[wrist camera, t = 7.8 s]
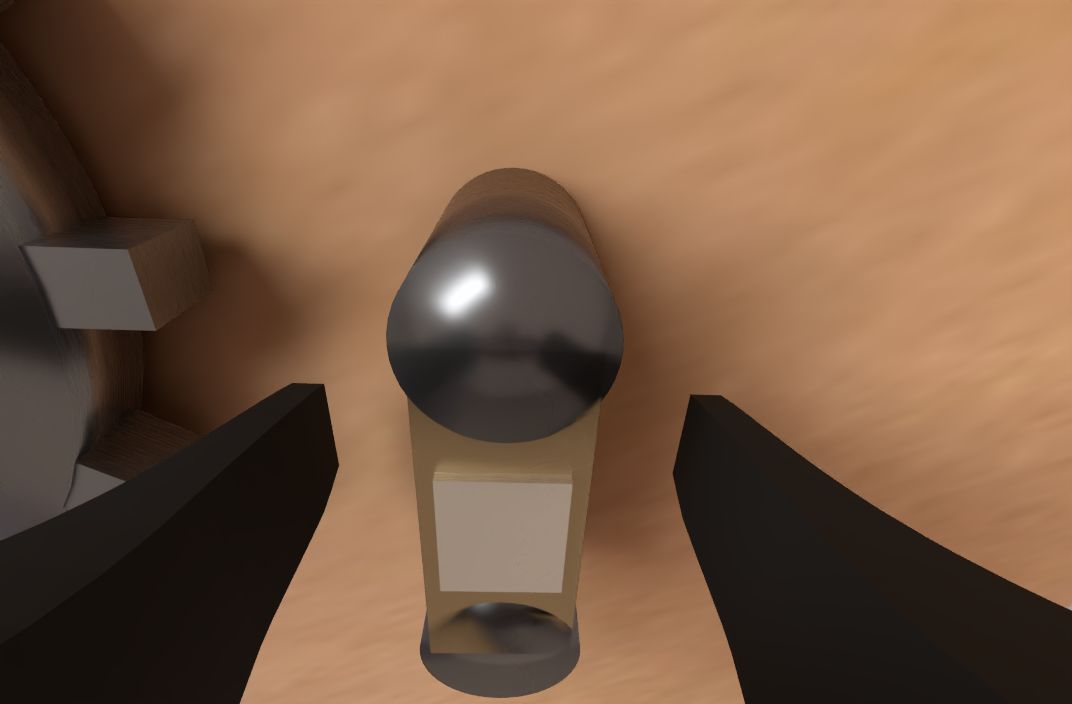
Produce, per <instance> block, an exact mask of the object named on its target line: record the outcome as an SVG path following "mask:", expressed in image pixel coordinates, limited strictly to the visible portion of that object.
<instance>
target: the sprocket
mask: <svg viewBox="0 0 1072 704" xmlns="http://www.w3.org/2000/svg"><path fill="white" fill-rule="evenodd" d="M14 1H16V0H0V13H1V12H2V11H4V10H5V9H6V8H7V7H8V6H10V5H11V4H12V3H13V2H14ZM212 291H214V290H213V286H212V283H211V279H210V276H209V272H208V268H207V265H206V261H205V258H204V254H203V251H202V247H201V243H200V240H199V236H198V233H197V229H196V225H195V222H194V220H182V219H154V218H127V217H107V215H106V213H105V210H104V208H103V206H102V203H101V201H100V199H99V196H98V194H97V192H96V190H95V188H94V186H93V185H92V183H91V181H90V179H89V177H88V176H87V174H86V172H85V170H84V168H83V167H82V165H81V163H80V161H79V159H78V158H77V156H76V154H75V152H74V150H73V148H72V147H71V145H70V143H69V141H68V139H67V138H66V136H65V134H64V132H63V130H62V129H61V127H60V125H59V124H58V122H57V121H56V120H55V118H54V117H53V115H52V114H51V112H50V111H49V109H48V108H47V106H46V105H45V103H44V102H43V101H42V99H41V98H40V96H39V95H38V93H37V92H36V90H35V89H34V87H33V86H32V84H31V83H30V82H29V80H28V79H27V77H26V76H25V74H24V73H23V71H22V70H21V68H20V67H19V65H18V64H17V62H16V61H15V60H14V58H13V57H12V55H11V54H10V53H9V51H8V50H7V49H6V48H5V47H4V45H3V44H2V43H1V42H0V541H1V540H3V539H6V538H8V537H10V536H13V535H15V534H17V533H20V532H22V531H24V530H27V529H29V528H31V527H33V526H36V525H38V524H40V523H43V522H45V521H47V520H49V519H51V518H54V517H56V516H58V515H60V514H62V513H64V512H66V511H68V510H70V509H72V508H74V507H76V506H79V505H81V504H83V503H85V502H87V501H89V500H91V499H93V498H95V497H97V496H99V495H101V494H103V493H105V492H107V491H109V490H111V489H113V488H115V487H117V486H118V485H120V484H122V483H124V482H126V481H128V480H130V479H132V478H133V477H135V476H137V475H139V474H141V473H142V472H144V471H146V470H148V469H149V468H151V467H153V466H155V465H156V464H158V463H160V462H162V461H163V460H165V459H167V458H169V457H170V456H172V455H174V454H175V453H177V452H179V451H181V450H182V449H184V448H186V447H188V446H189V445H191V444H193V443H195V442H196V441H198V440H200V439H201V438H203V437H204V436H202V435H200V434H197V433H195V432H192V431H190V430H187V429H185V428H182V427H180V426H178V425H175V424H173V423H170V422H168V421H165V420H163V419H161V418H158V417H156V416H153V415H151V414H148V413H146V412H144V411H141V410H139V408H140V403H141V399H142V394H143V365H144V349H143V342H142V335H141V330H145V331H157V330H158V329H159V328H161V327H162V326H164V325H165V324H167V323H168V322H169V321H171V320H172V319H174V318H175V317H177V316H178V315H179V314H181V313H182V312H184V311H185V310H187V309H188V308H189V307H191V306H192V305H194V304H195V303H197V302H198V301H199V300H201V299H202V298H204V297H205V296H207V295H208V294H209V293H211V292H212Z"/></svg>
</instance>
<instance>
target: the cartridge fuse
mask: <svg viewBox="0 0 1072 704" xmlns="http://www.w3.org/2000/svg"><path fill="white" fill-rule="evenodd" d="M386 338H387V350H388V356H389V361H390V364H391V367H392V370H393V373H394V375H395V377H396V379H397V381H398V383H399V385H400V386H401V388H402V389H403V391H404V392H405V394H406V395H407V399H408V410H409V421H410V431H411V442H412V453H413V464H414V475H415V486H416V497H417V508H418V519H419V530H420V541H421V552H422V563H423V573H424V584H425V595H426V606H427V611H426V617H425V622H424V628H423V633H422V639H421V644H420V655H421V659H422V662H423V664H424V666H425V667H426V669H427V670H428V671H429V672H430V673H431V674H432V676H434V677H435V678H436V679H437V680H439V681H440V682H442V683H443V684H445V685H447V686H449V687H451V688H453V689H455V690H458V691H461V692H464V693H468V694H471V695H476V696H483V697H493V698H508V697H518V696H524V695H529V694H533V693H537V692H540V691H542V690H545V689H547V688H550V687H552V686H554V685H555V684H557V683H559V682H560V681H562V680H563V679H564V678H566V677H567V676H568V675H569V674H570V673H571V672H572V670H573V669H574V668H575V666H576V664H577V662H578V659H579V655H580V643H579V632H578V622H577V611H576V597H577V589H578V581H579V573H580V565H581V557H582V549H583V541H584V533H585V525H586V517H587V509H588V501H589V494H590V486H591V478H592V470H593V462H594V454H595V446H596V438H597V430H598V422H599V414H600V406H601V401H602V400H603V398H604V397H605V395H606V394H607V393H608V391H609V390H610V388H611V386H612V384H613V382H614V380H615V378H616V376H617V373H618V370H619V368H620V364H621V359H622V354H623V342H624V338H623V326H622V322H621V318H620V313H619V310H618V308H617V305H616V303H615V300H614V297H613V295H612V292H611V290H610V287H609V285H608V282H607V279H606V277H605V274H604V272H603V269H602V266H601V264H600V261H599V259H598V256H597V254H596V251H595V248H594V246H593V243H592V241H591V238H590V236H589V233H588V230H587V228H586V225H585V223H584V220H583V218H582V215H581V212H580V210H579V208H578V207H577V205H576V203H575V201H574V200H573V199H572V197H571V196H570V195H569V194H568V193H567V191H566V190H565V189H564V188H563V187H561V186H560V185H559V184H558V183H556V182H555V181H554V180H552V179H550V178H548V177H547V176H545V175H542V174H540V173H537V172H535V171H531V170H527V169H520V168H503V169H497V170H493V171H489V172H486V173H484V174H482V175H479V176H477V177H475V178H474V179H472V180H471V181H469V182H468V183H466V184H465V185H464V186H463V187H462V188H461V189H460V190H459V191H458V192H457V193H456V194H455V195H454V197H453V198H452V200H451V201H450V203H449V204H448V206H447V208H446V209H445V211H444V213H443V215H442V216H441V218H440V220H439V221H438V223H437V225H436V227H435V228H434V230H433V232H432V233H431V235H430V237H429V239H428V240H427V242H426V244H425V246H424V247H423V249H422V251H421V252H420V254H419V256H418V258H417V259H416V261H415V263H414V264H413V266H412V268H411V270H410V271H409V273H408V275H407V277H406V278H405V280H404V282H403V283H402V285H401V287H400V289H399V290H398V292H397V294H396V297H395V299H394V301H393V303H392V306H391V309H390V313H389V317H388V323H387V331H386Z"/></svg>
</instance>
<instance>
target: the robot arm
mask: <svg viewBox="0 0 1072 704" xmlns="http://www.w3.org/2000/svg"><path fill="white" fill-rule="evenodd" d="M338 467H339V463H338V457H337V452H336V447H335V441H334V436H333V430H332V425H331V419H330V414H329V408H328V403H327V397H326V392H325V386H324V384H306V383H292V384H290V385H288V386H286V387H284V388H282V389H280V390H279V391H277V392H275V393H274V394H272V395H270V396H269V397H267V398H265V399H264V400H262V401H260V402H259V403H257V404H256V405H254V406H252V407H251V408H249V409H248V410H246V411H245V412H243V413H241V414H240V415H238V416H237V417H235V418H233V419H232V420H230V421H229V422H227V423H225V424H224V425H222V426H220V427H219V428H217V429H216V430H214V431H212V432H211V433H209V434H208V435H206V436H204V437H203V438H201V439H200V440H198V441H196V442H195V443H193V444H191V445H189V446H188V447H186V448H184V449H182V450H181V451H179V452H177V453H175V454H174V455H172V456H170V457H169V458H167V459H165V460H163V461H162V462H160V463H158V464H156V465H155V466H153V467H151V468H149V469H148V470H146V471H144V472H142V473H141V474H139V475H137V476H135V477H133V478H132V479H130V480H128V481H126V482H124V483H122V484H120V485H118V486H117V487H115V488H113V489H111V490H109V491H107V492H105V493H103V494H101V495H99V496H97V497H95V498H93V499H91V500H89V501H87V502H85V503H83V504H81V505H79V506H76V507H74V508H72V509H70V510H68V511H66V512H64V513H62V514H60V515H58V516H56V517H54V518H51V519H49V520H47V521H45V522H43V523H40V524H38V525H36V526H33V527H31V528H29V529H27V530H24V531H22V532H20V533H17V534H15V535H13V536H10V537H8V538H6V539H3V540H1V541H0V704H240V701H241V698H242V696H243V693H244V690H245V688H246V685H247V682H248V679H249V677H250V674H251V671H252V669H253V666H254V663H255V660H256V658H257V655H258V652H259V650H260V647H261V645H262V642H263V640H264V638H265V635H266V633H267V631H268V629H269V626H270V624H271V622H272V619H273V617H274V615H275V613H276V611H277V609H278V607H279V605H280V603H281V601H282V599H283V597H284V595H285V593H286V591H287V588H288V586H289V584H290V582H291V580H292V578H293V576H294V574H295V572H296V570H297V568H298V566H299V564H300V562H301V560H302V557H303V555H304V553H305V551H306V549H307V547H308V545H309V543H310V541H311V539H312V537H313V534H314V532H315V530H316V528H317V526H318V524H319V522H320V520H321V517H322V515H323V513H324V511H325V508H326V505H327V502H328V499H329V496H330V493H331V490H332V487H333V483H334V480H335V477H336V474H337V470H338ZM673 477H674V482H675V486H676V491H677V496H678V500H679V504H680V509H681V513H682V517H683V520H684V523H685V526H686V529H687V532H688V534H689V537H690V540H691V543H692V545H693V548H694V551H695V553H696V556H697V559H698V561H699V564H700V567H701V569H702V572H703V575H704V577H705V580H706V583H707V585H708V588H709V591H710V593H711V596H712V599H713V601H714V604H715V607H716V609H717V612H718V615H719V617H720V620H721V623H722V625H723V628H724V631H725V634H726V637H727V640H728V643H729V647H730V650H731V653H732V656H733V660H734V664H735V667H736V671H737V675H738V679H739V682H740V686H741V690H742V694H743V697H744V701H745V704H1072V611H1071V610H1069V609H1067V608H1065V607H1063V606H1060V605H1058V604H1056V603H1054V602H1052V601H1049V600H1047V599H1045V598H1043V597H1041V596H1039V595H1037V594H1035V593H1033V592H1031V591H1029V590H1027V589H1024V588H1022V587H1020V586H1018V585H1016V584H1014V583H1012V582H1010V581H1008V580H1006V579H1004V578H1002V577H1000V576H998V575H996V574H994V573H992V572H991V571H989V570H987V569H985V568H983V567H981V566H979V565H977V564H975V563H973V562H971V561H969V560H967V559H965V558H963V557H962V556H960V555H958V554H956V553H954V552H952V551H950V550H948V549H947V548H945V547H943V546H941V545H939V544H938V543H936V542H934V541H932V540H930V539H929V538H927V537H925V536H923V535H922V534H920V533H918V532H917V531H915V530H913V529H912V528H910V527H908V526H907V525H905V524H903V523H901V522H900V521H898V520H896V519H895V518H893V517H891V516H890V515H888V514H886V513H885V512H883V511H881V510H880V509H878V508H877V507H875V506H873V505H872V504H870V503H869V502H867V501H866V500H864V499H863V498H861V497H859V496H858V495H857V494H855V493H854V492H852V491H851V490H849V489H848V488H846V487H845V486H843V485H842V484H840V483H839V482H837V481H836V480H834V479H833V478H832V477H830V476H829V475H827V474H826V473H824V472H823V471H822V470H820V469H819V468H817V467H816V466H815V465H813V464H812V463H810V462H809V461H808V460H806V459H805V458H804V457H802V456H801V455H800V454H798V453H797V452H796V451H794V450H793V449H792V448H790V447H789V446H788V445H786V444H785V443H784V442H782V441H781V440H780V439H778V438H777V437H776V436H775V435H773V434H772V433H771V432H769V431H768V430H767V429H765V428H764V427H763V426H762V425H760V424H759V423H758V422H756V421H755V420H754V419H753V418H751V417H750V416H749V415H747V414H746V413H745V412H743V411H742V410H741V409H739V408H738V407H737V406H735V405H734V404H733V403H731V402H730V401H728V400H727V399H725V398H724V397H722V396H721V395H690V399H689V404H688V408H687V412H686V417H685V421H684V426H683V430H682V435H681V439H680V443H679V448H678V452H677V457H676V461H675V466H674V470H673Z"/></svg>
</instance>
